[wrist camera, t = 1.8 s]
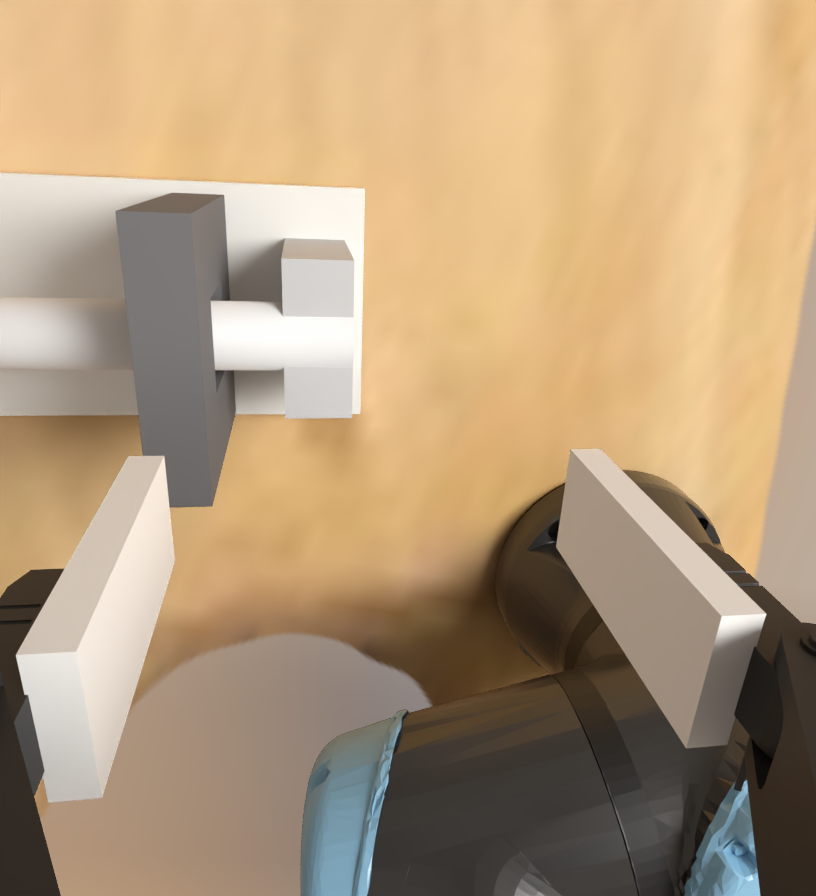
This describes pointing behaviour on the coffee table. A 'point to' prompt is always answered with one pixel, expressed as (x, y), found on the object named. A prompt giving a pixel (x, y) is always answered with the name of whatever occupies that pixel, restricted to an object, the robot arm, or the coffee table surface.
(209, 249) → the collar
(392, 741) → the robot arm
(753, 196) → the coffee table surface
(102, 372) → the pipe stand
